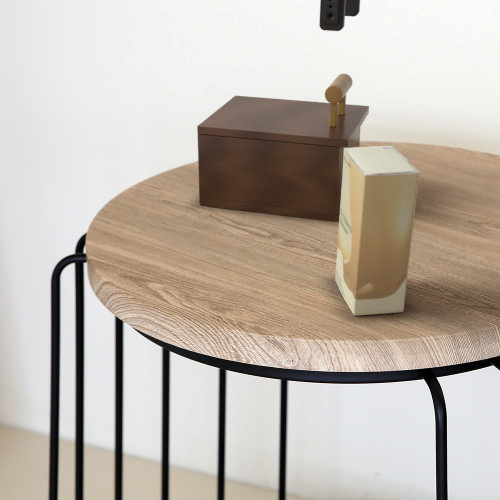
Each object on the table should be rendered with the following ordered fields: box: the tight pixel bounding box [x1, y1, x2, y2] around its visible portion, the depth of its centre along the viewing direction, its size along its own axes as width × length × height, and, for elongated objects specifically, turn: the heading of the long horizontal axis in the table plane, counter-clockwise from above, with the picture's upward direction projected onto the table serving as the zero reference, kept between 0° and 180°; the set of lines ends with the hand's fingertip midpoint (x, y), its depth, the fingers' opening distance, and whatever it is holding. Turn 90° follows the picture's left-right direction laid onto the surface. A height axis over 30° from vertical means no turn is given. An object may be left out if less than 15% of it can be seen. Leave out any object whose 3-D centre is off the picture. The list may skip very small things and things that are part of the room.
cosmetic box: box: [334, 144, 420, 317], centre depth 63 cm, size 6×4×12 cm
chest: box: [197, 127, 362, 222], centre depth 86 cm, size 15×13×8 cm
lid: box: [196, 73, 370, 148], centre depth 83 cm, size 15×13×5 cm
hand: (340, 22), depth 77 cm, fingers open, 8 cm apart
